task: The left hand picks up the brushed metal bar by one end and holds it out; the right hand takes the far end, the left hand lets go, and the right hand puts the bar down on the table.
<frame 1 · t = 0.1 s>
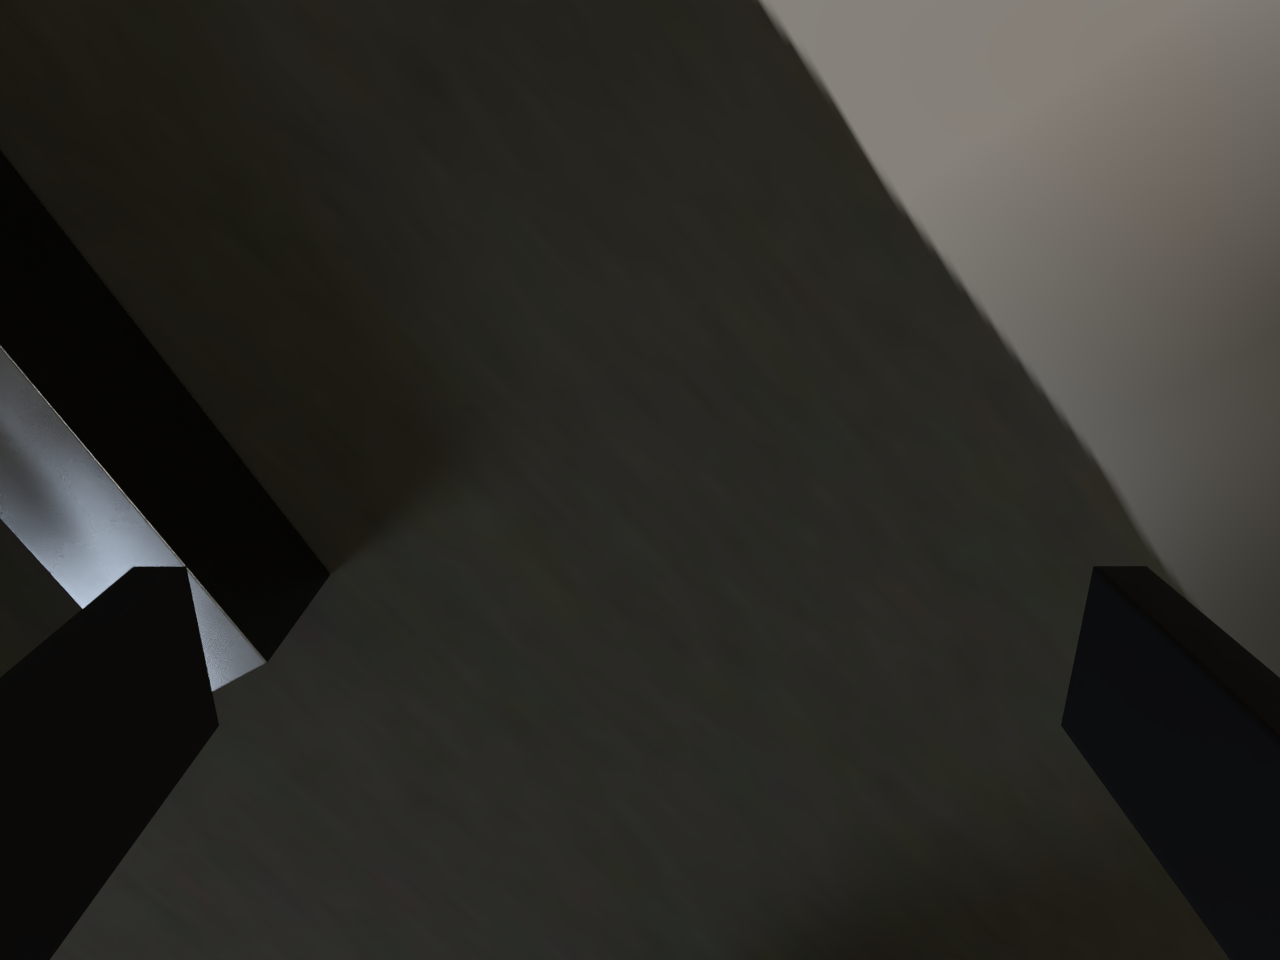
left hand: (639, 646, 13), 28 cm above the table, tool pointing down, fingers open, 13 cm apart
bar: (56, 303, 39), on the table
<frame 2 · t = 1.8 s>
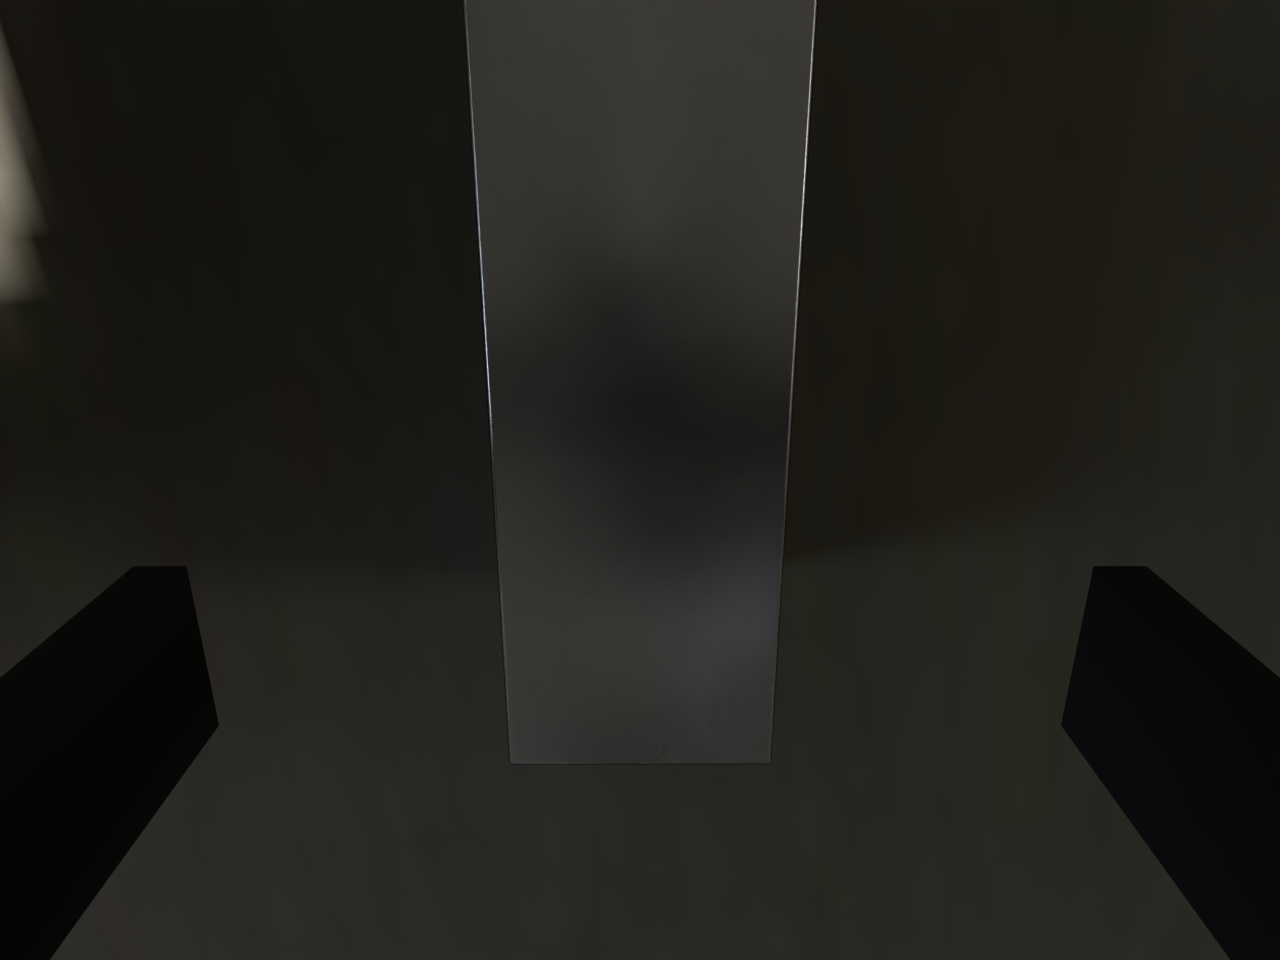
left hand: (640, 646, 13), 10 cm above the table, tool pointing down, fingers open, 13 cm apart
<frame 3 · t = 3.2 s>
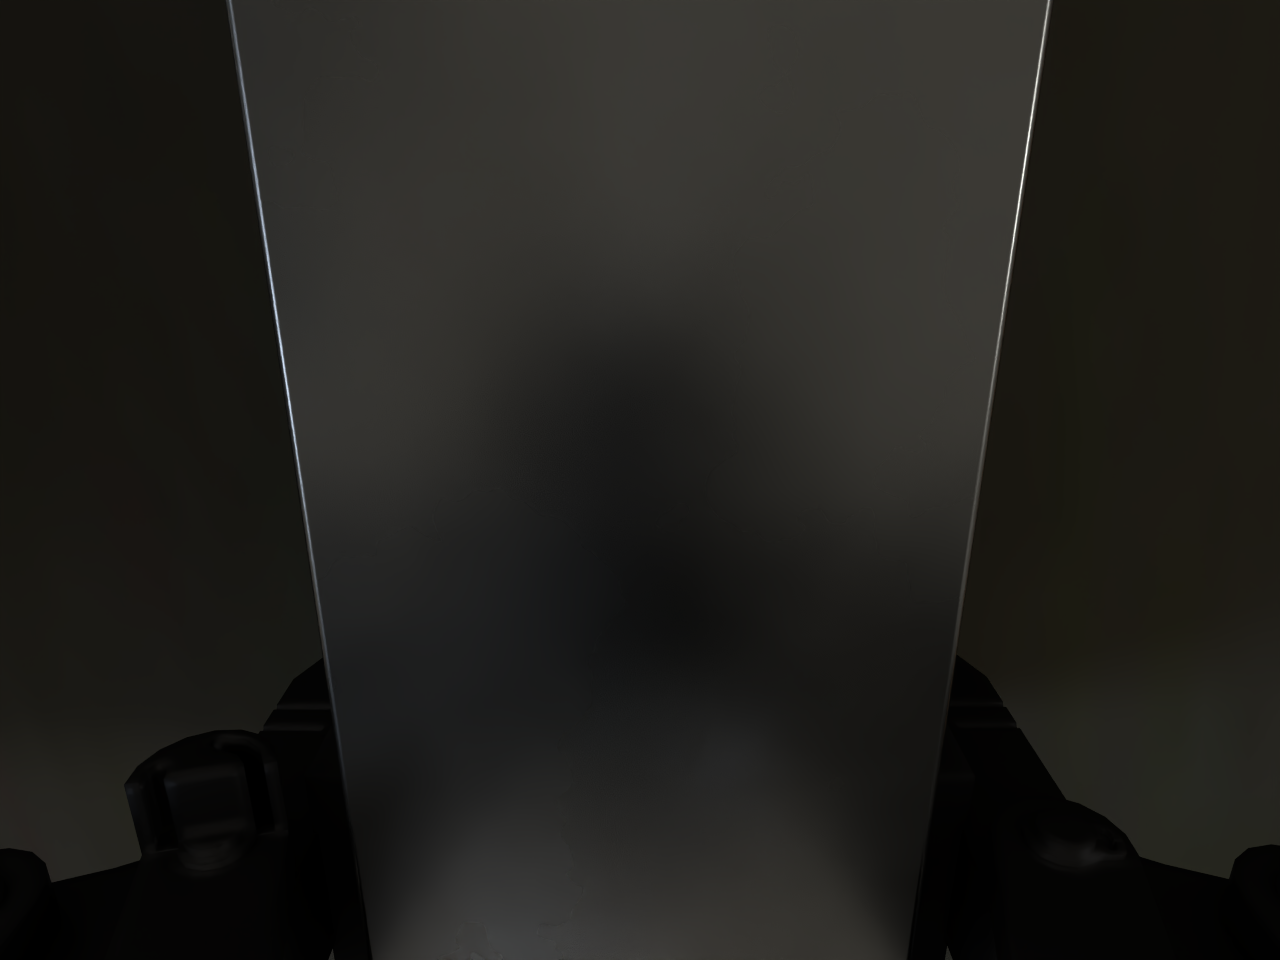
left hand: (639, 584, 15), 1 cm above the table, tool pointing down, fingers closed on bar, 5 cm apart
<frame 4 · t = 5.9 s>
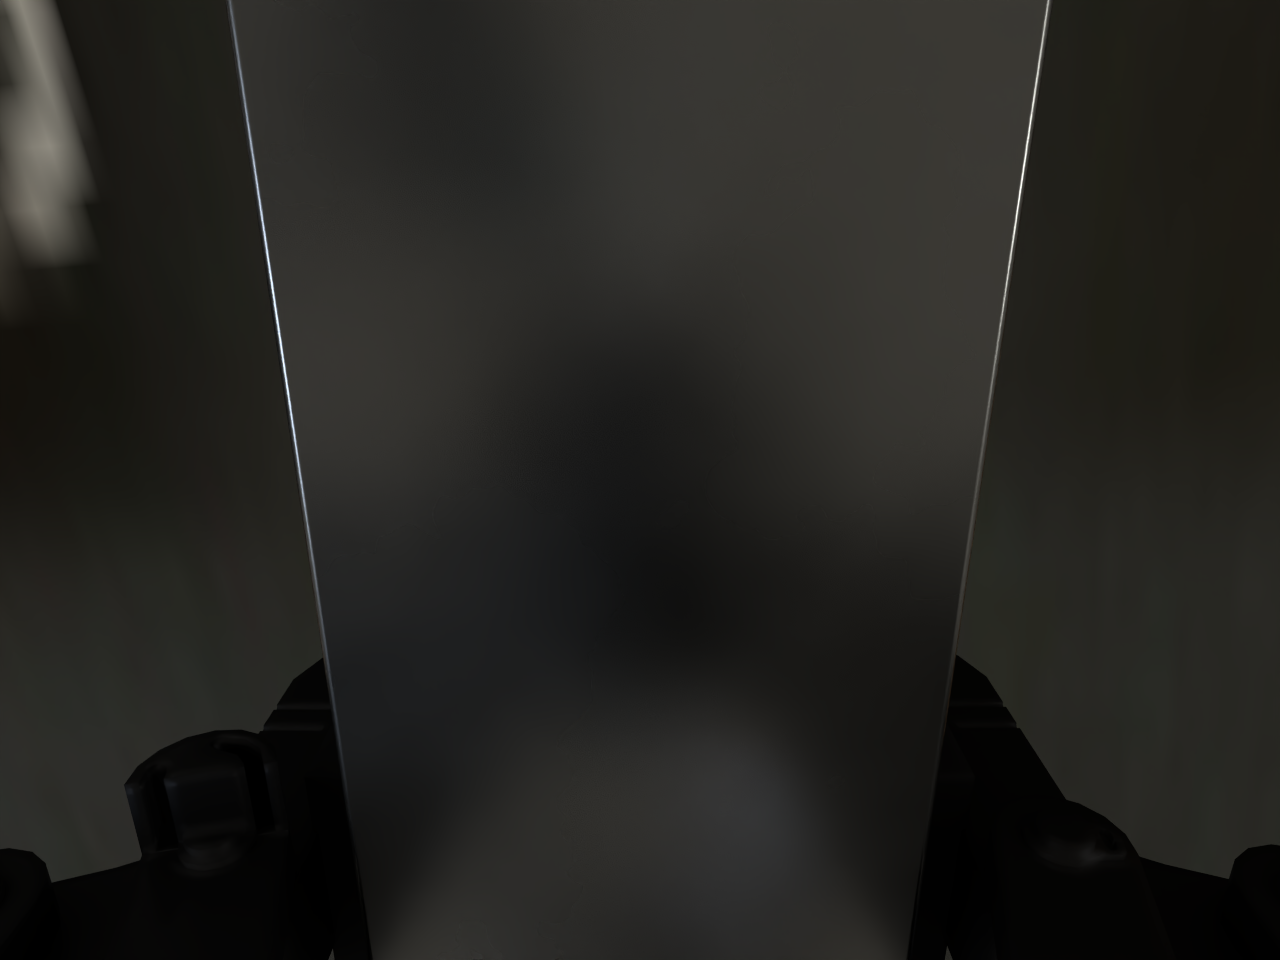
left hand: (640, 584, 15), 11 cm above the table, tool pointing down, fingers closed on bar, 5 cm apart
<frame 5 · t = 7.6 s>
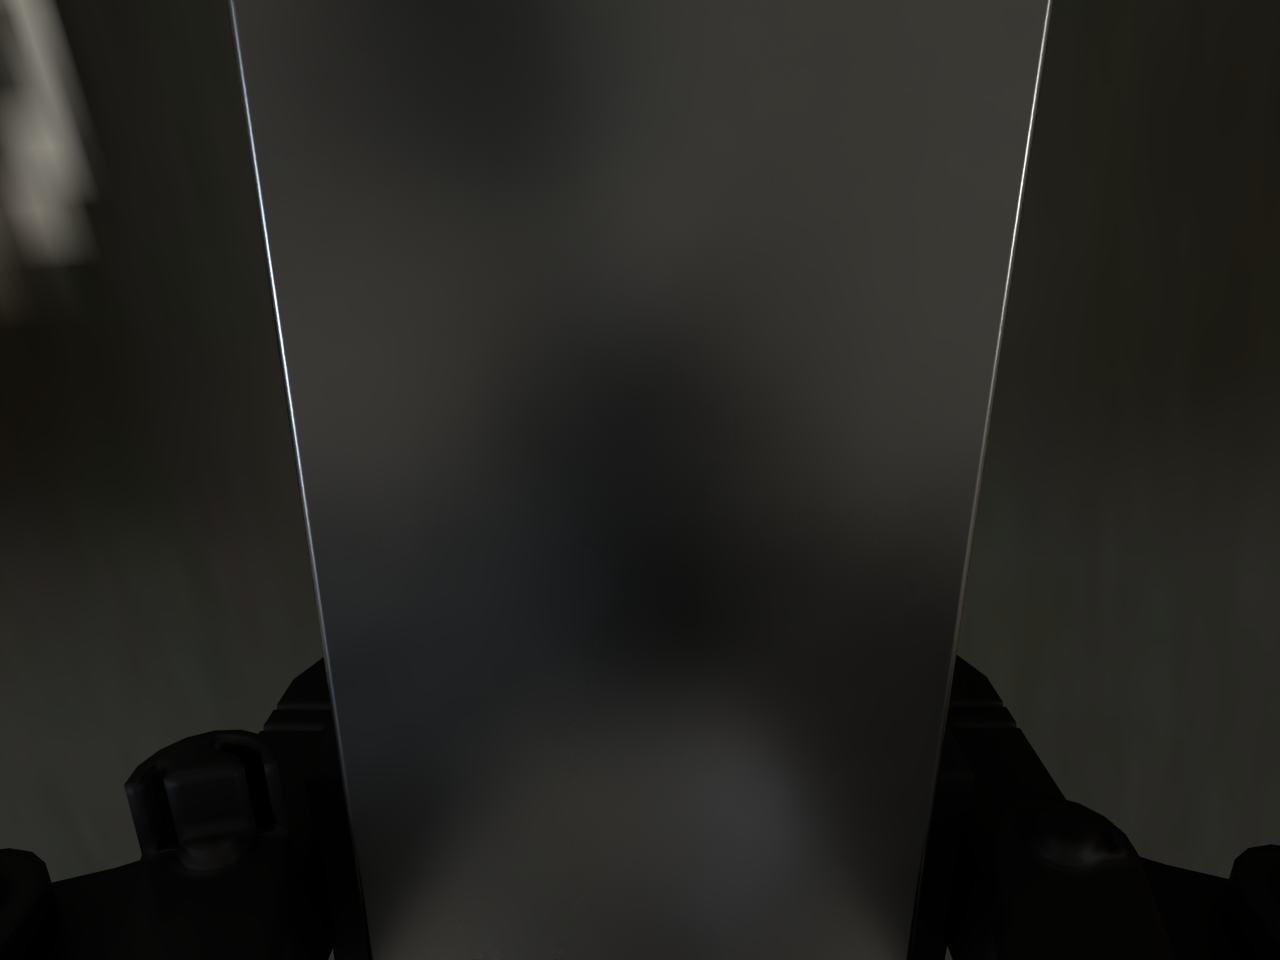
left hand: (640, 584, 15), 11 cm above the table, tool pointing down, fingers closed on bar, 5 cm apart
when the left hand's fingers open (11 cm above the table, at t = 8.4 s): bar stays where it is, held by the right hand.
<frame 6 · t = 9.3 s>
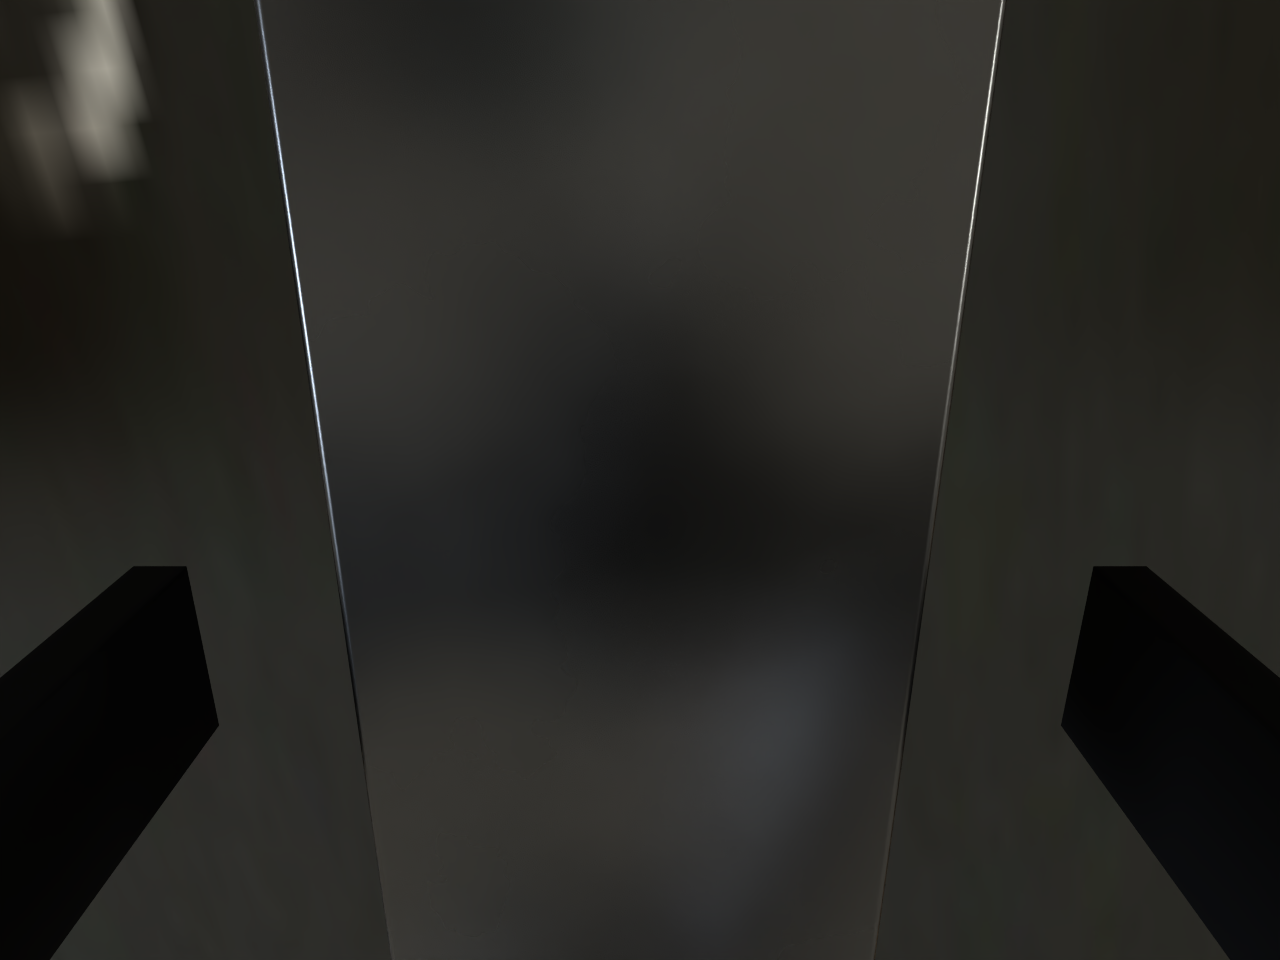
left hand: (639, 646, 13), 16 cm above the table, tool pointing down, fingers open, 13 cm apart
when the right hand's fingers open (2 cm above the table, at t = 11.9 s): bar drops 1 cm, on the table.
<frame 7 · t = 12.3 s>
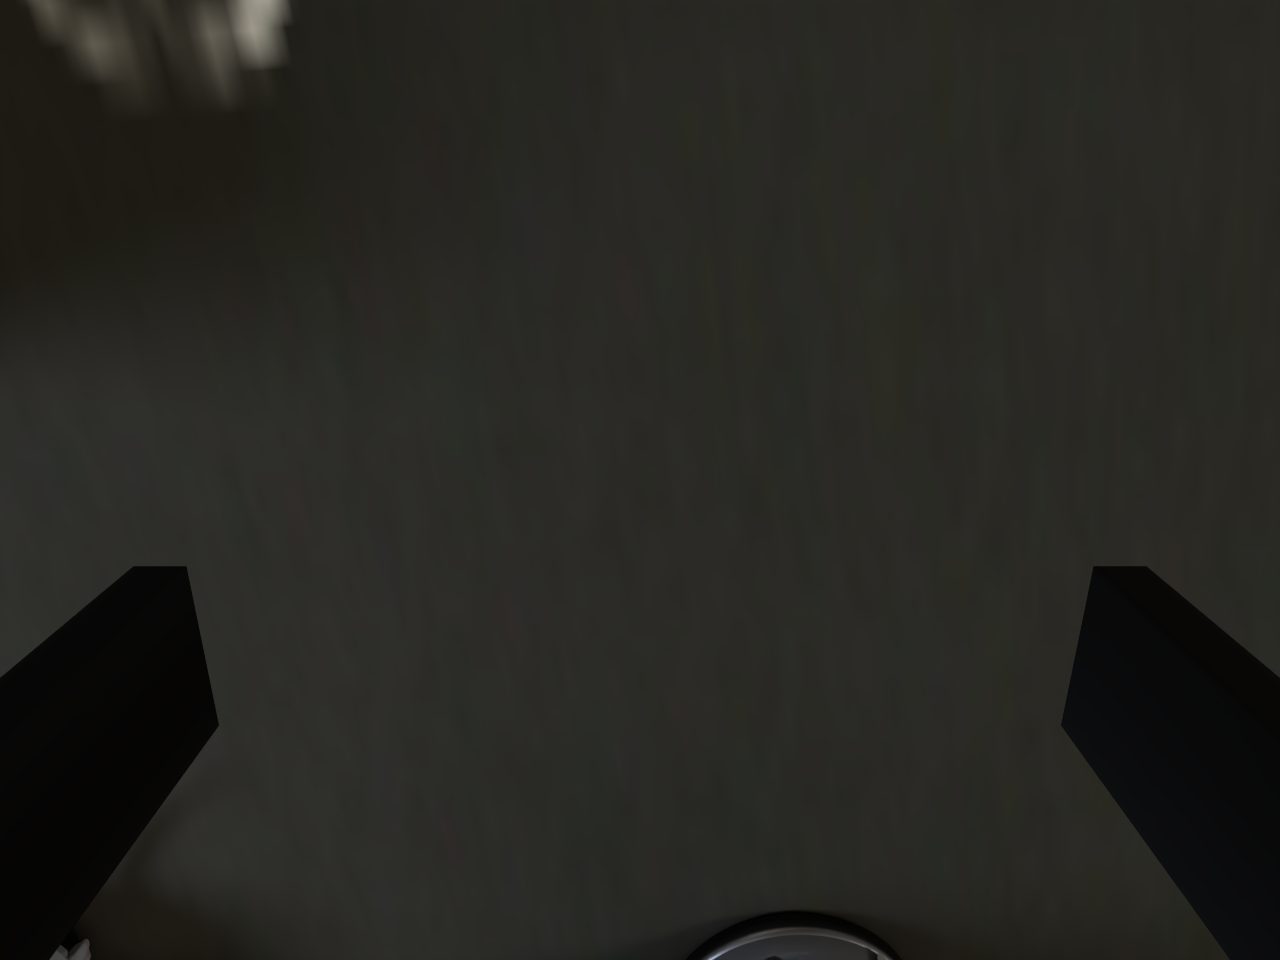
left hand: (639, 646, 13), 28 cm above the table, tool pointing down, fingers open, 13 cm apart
toy: (59, 893, 52), on the table
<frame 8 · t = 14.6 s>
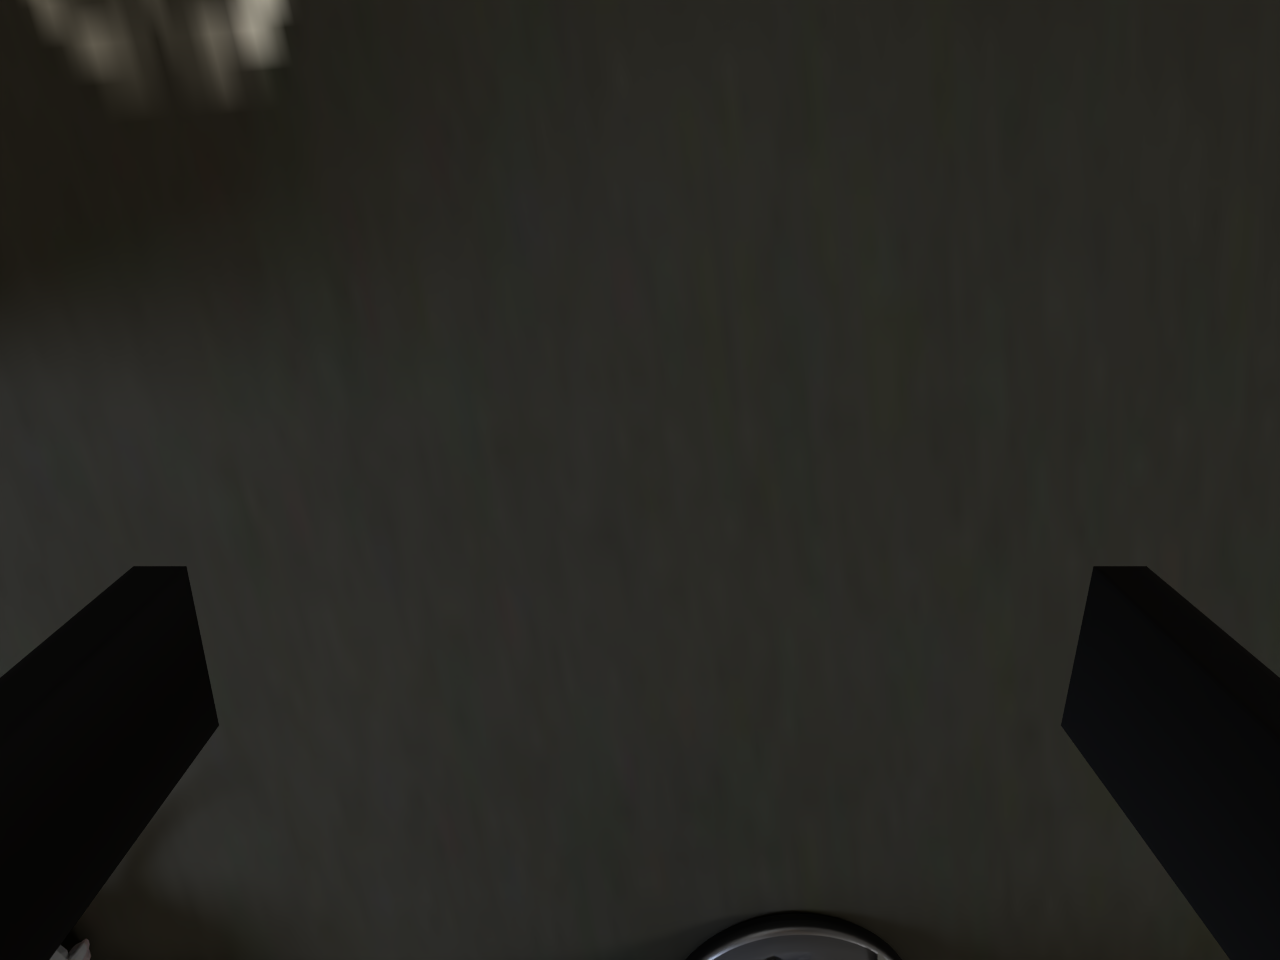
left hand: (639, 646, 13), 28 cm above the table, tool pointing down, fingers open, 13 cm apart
toy: (59, 893, 52), on the table
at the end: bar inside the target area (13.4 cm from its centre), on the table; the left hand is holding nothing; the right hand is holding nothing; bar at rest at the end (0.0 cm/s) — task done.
